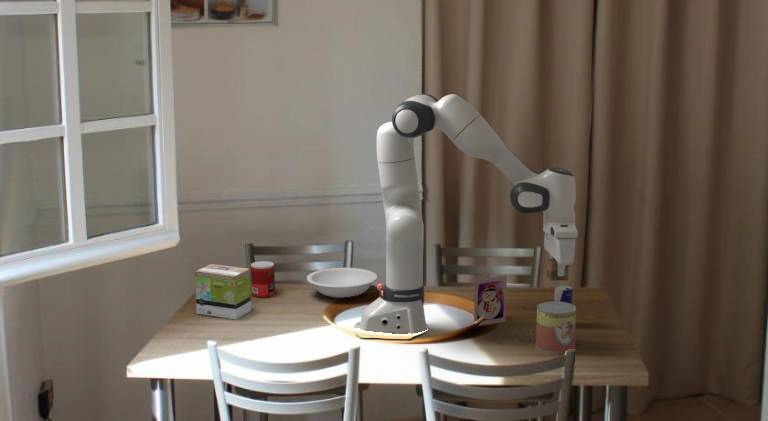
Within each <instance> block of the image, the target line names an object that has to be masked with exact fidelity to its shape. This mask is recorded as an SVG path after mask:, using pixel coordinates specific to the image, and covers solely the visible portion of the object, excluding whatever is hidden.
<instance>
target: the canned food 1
mask: <svg viewBox="0 0 768 421" xmlns="http://www.w3.org/2000/svg"><path fill="white" fill-rule="evenodd" d="M275 277H276V276H275V263H274V262H272V261H266V260H262V261H261V260H260V261H254V262H252V263H251V264H250V288H251V295H252V297H254V298H256V299H257V298H258V299H268V298H272V297H274V296H275V293H276V280H275V279H276V278H275Z"/></svg>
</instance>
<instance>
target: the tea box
mask: <svg viewBox="0 0 768 421" xmlns="http://www.w3.org/2000/svg"><path fill="white" fill-rule="evenodd" d="M194 277H195V278H194V280H195V282H194V284H195V304H196V305H195V306H196V307H195V308H196V314H197V315H204V316H211V317H218V318H224V319H230V320H233V321H234V320H235V321H236V320H238V319H240V318H242V317H243V316H245V315H247V314H248V313H250V312H251V311H252V302H251V301H252V296H251V295H252V289H251V268H247V267H246V268H245V267H238V266H231V265H222V264H213V263H210V264H208V265H206V266H203V267H202V268H200V269H198V270H197V269H196V270H195V271H194Z"/></svg>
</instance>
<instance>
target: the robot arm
mask: <svg viewBox="0 0 768 421" xmlns="http://www.w3.org/2000/svg"><path fill="white" fill-rule="evenodd" d="M433 129H437V130H439V131H441V132H442V133H444V134H445V136H447V137H448V138H449V140H451V142H452V143H453V144H454V146H456V147H457V148H458V149H459V150H460V151H461V152H462V153H464V154H465V155H467V156H468V157H471V158H475V159H481V160H484V161H487V162H490V163H491V164H493V165H494V166H495V167H496V168H497V169H498V170H499V171H500V172H501V173H502V174H503V175H505V177H506V178H507V179H508V180H510V182H511V183H512V184H513V185H514V186H513V187H512V188H511V190H510V194H509V201H510V203H511V206H512V207H513V208H514V209H515V211H517V212H519V213H521V214H535V213H541V212H542V213H543V215H542V216H543V217H542V218H543V220H542V221H543V222H542V223H543V224H542V231H543V233H544V240H543V246H544V250H545V251H546V252H547V253H549V259H555V260H556V261H557V262H558V263H557V264H558V269H557V275H558V276H564V270H565V267H566V265H569V266H572V265H573V264H574V261H575V250H576V238H578V234H579V232H578V229H577V226H576V212H575V204H576V199H577V198H576V197H577V194H576V193H577V192H576V189H577V188H576V179H575V176H574V174H573V173H572V172H571V171H570V170H568V169H565V168H562V167H549V168H547V169H545V171H543V172H541V173H540V172H538V171H536V170H534V169H532V168H530V166H529V167H528V166H527V165H526V164H525V163H524V161H522V160H521V159H520V158H519V157H518V155H516V154H515V153H514V152H513V151H512V150H511V149H510V148H509V146H507V145H506V143H504V142H503V140H502V139H501V138H500V137H499V135H498V134H497V133H496V132H495V130H494V129H493V128H492V127H491V125H490V124H489V123H488V122H487V120H486V119H485V118H484V116H482V115H481V114H480V113H479V111H477V110H476V109H475V107H473V106H472V105H471V104H470V103H469V102H468V101H466V100H465V99H463V98H462V97H461V96H459V95H457V94H454V93H451V94H447V95H444V96H443V97H441V98H440V99H439V100H438V99H437V97H435V96H434V95H433V94H429V93H420V94H419V93H418V94H417V95H413V96H411V97H407V98H406V99H405V100H404V101H402V102H401V103H400V104H398V105H397V106H396V107H395V109H394V110H393V112H392V116H391V121H388V122H385V123H383V124H382V125H381V126H379V128H378V129H377V132H376V142H375V143H376V158H377V169H378V173H379V181H380V189H381V196H382V198H381V199H382V205H383V210H384V211H383V212H384V218H385V239H386V241H385V248H386V249H385V276H386V277H385V284H382V283H378V284H377V286H376V288H377V290H378V291H379V293H378V294H379V297H377V299H375V300H374V301H372V302H371V303H369V304H368V305H367V306H365V307H364V309H363V311H362V314H361V318H360V321H358V322H356V323H355V324H354V326H353V329H354V328H360V329H362V330H365V331H373V332H383V333H392V334H408V333H411V334H413V333H418V332H422V331H425V330H427V327H428V323H427V321H426V316H425V307H424V303H425V298H426V297H425V294H426V293H425V292H426V291H425V286H424V282H423V280H424V279H423V277H424V276H423V275H424V273H423V272H424V270H423V269H424V268H423V267H424V265H423V264H424V262H423V261H424V260H423V259H424V258H423V257H424V241H425V240H424V239H425V238H424V236H425V233H424V232H425V230H424V229H425V228H424V227H425V225H424V220H423V215H422V214H423V213H422V208H421V200H420V192H419V191H420V190H419V180H418V174H417V166H416V156H415V150H414V142H415V138H418V137H421V136H423V135H425V134H426V133H428V132H431V131H433Z"/></svg>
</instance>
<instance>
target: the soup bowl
mask: <svg viewBox="0 0 768 421" xmlns="http://www.w3.org/2000/svg"><path fill="white" fill-rule="evenodd" d="M377 280H378V274H377V273H375V272H373V271H371V270H368V269H363V268H358V267H331V268H325V269H319V270H315V271H313V272H311V273H309V274H307V276H306V281H307V282H308V283H309V284H312V286H313V287H314V289H315V290H316V291H318V292H319V293H320V294H322V295H324V296H326V297H329V298H330V297H331V298H336V299H346V298H345V297H348V298H351V297H350V296H354V297H356V296H355V295H357V296H360V295H362V294H364V293H366V291H367V290H368V289H370V287H371V286H372V284H373V283H374V282H376V281H377ZM359 294H360V295H359Z"/></svg>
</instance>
